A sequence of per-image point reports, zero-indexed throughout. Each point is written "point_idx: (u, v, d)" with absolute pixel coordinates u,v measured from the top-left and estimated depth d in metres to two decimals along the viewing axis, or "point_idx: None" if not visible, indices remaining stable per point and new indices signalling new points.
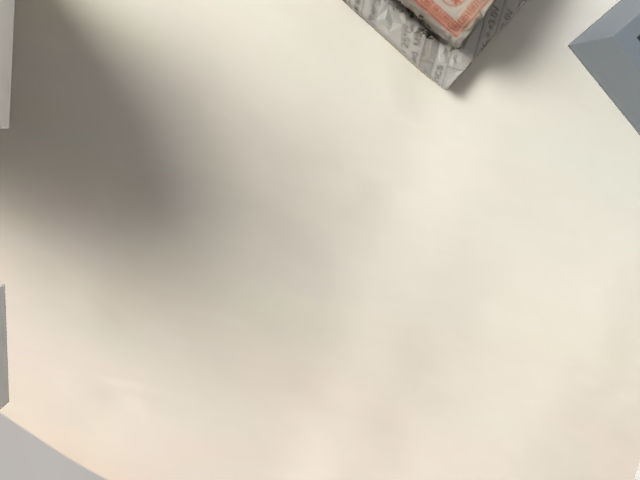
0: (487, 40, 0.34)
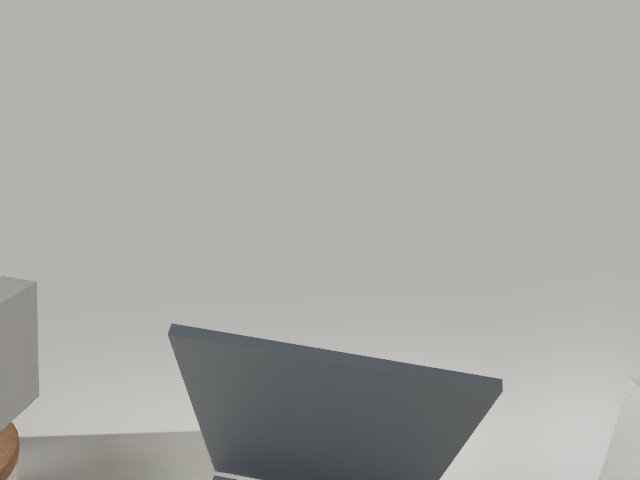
0: None
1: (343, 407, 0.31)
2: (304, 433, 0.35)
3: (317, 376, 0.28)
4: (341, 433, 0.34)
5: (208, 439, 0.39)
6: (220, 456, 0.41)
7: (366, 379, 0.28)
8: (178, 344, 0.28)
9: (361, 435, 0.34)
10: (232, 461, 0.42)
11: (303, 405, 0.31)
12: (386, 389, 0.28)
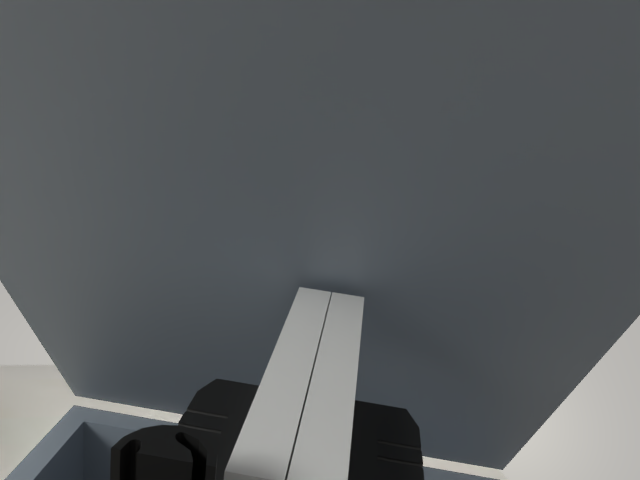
0: None
1: None
2: (231, 205, 0.12)
3: None
4: (340, 182, 0.11)
5: (12, 282, 0.16)
6: (65, 345, 0.18)
7: None
8: None
9: (403, 181, 0.11)
10: (95, 360, 0.19)
11: (202, 6, 0.09)
12: None
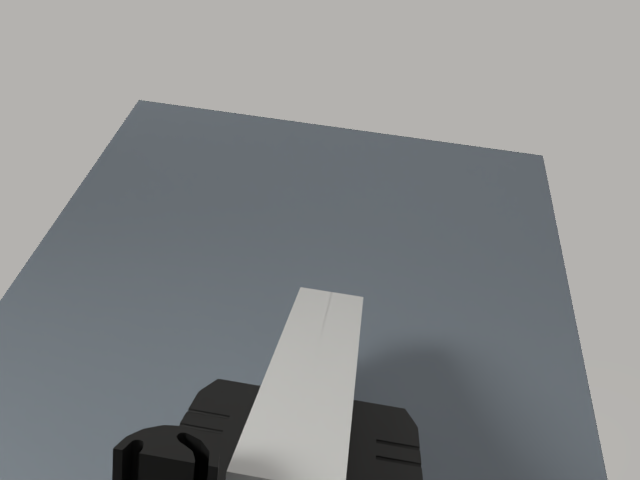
0: None
1: (344, 220, 0.19)
2: (246, 335, 0.15)
3: (313, 152, 0.21)
4: None
5: None
6: None
7: (379, 151, 0.21)
8: (141, 113, 0.22)
9: (375, 314, 0.16)
10: None
11: (274, 224, 0.18)
12: (406, 168, 0.21)
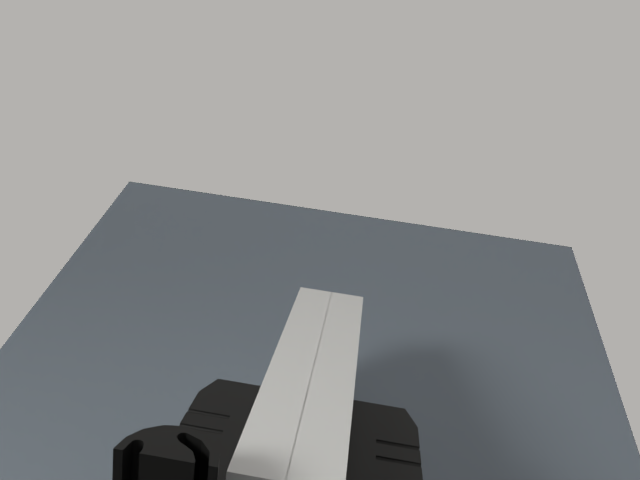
0: None
1: None
2: None
3: (320, 241, 0.19)
4: None
5: None
6: None
7: (392, 241, 0.19)
8: (131, 195, 0.20)
9: None
10: None
11: (278, 325, 0.16)
12: (424, 260, 0.19)
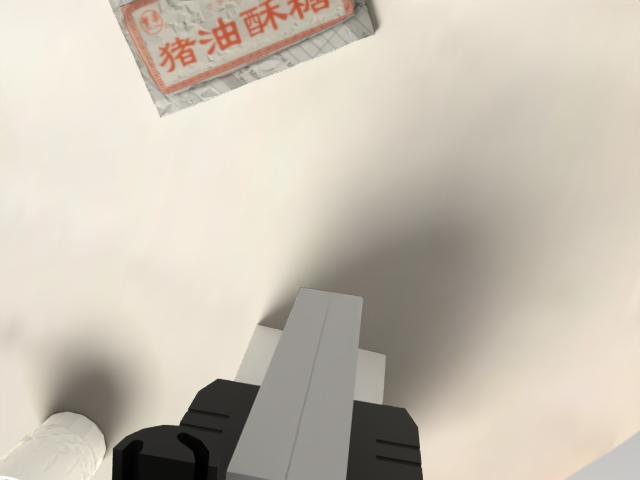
0: (128, 40, 0.43)
1: None
2: None
3: None
4: None
5: None
6: None
7: None
8: None
9: None
10: None
11: None
12: None
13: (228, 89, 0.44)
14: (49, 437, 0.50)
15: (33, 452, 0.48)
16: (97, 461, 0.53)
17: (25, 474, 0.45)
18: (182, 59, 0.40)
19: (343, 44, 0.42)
